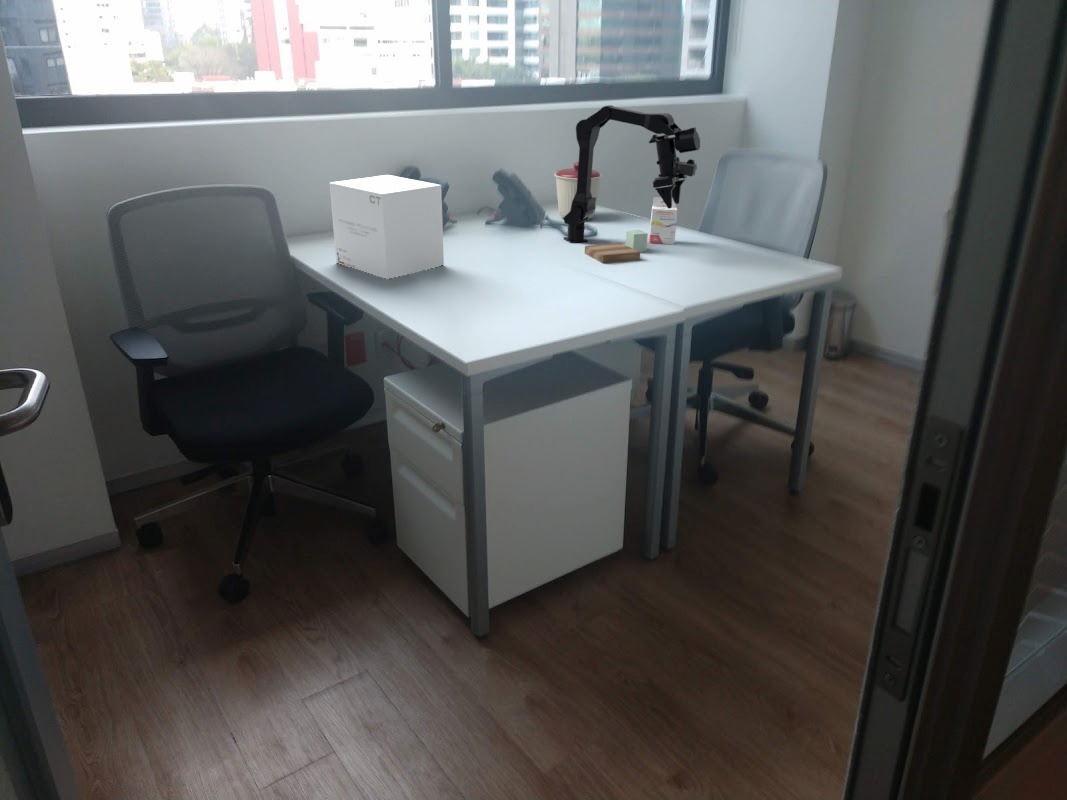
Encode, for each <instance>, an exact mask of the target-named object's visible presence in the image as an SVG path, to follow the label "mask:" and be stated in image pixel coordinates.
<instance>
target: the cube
mask: <svg viewBox="0 0 1067 800" xmlns="http://www.w3.org/2000/svg"><path fill="white" fill-rule="evenodd" d="M442 192H443V191H442V184H437V183H433V182H427V181H423V180H417V179H411V178H406V177H401V176H396V175H391V174H383V175H376V176H371V177H370V176H369V177H363V178H355V179H354V178H353V179H348V180H339V181H330V182H329V194H330V195H329V196H330V206H331V216H332V218H331V219H332V229H333V230H332V231H333V241H334V251H335V263H336V264H337V263H339V264H338V265H340V264H342V265H341V266H343V265H345V266H344V267H347V266H348V267H347V268H350V267H352V268H351V269H353V268H355V269H354V270H356V269H358V270H357V271H359V270H361V271H360V272H362V271H364V272H363V273H365V272H367V273H366V274H368V273H370V274H369V275H371V274H373V275H372V276H375V275H376V277H378V276H379V277H378V278H381V277H382V278H381V279H384V278H386V279H385V280H387V279H388V280H390V279H389V278H392V279H395V278H394V277H396V278H399V277H398V276H400V277H404V276H408V275H407V274H409V275H412V274H411V273H413V274H416V273H415V272H417V273H420V272H419V271H421V272H423V271H422V270H425V271H427V270H426V269H429V268H433V267H438V266H441V265H444V266H445V261H444V260H445V259H444V255H445V254H444V231H443V230H444V229H443V226H444V225H443V200H442V198H443V197H442V195H443V194H442ZM438 268H439V267H438ZM433 269H434V268H433ZM429 270H430V269H429ZM403 275H404V276H403Z"/></svg>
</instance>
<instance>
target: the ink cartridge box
mask: <svg viewBox="0 0 1067 800" xmlns="http://www.w3.org/2000/svg"><path fill="white" fill-rule="evenodd" d="M677 205H678V204H675V202H674V200H673V197H672V208H668V207H667V206H666V204H665V202H664V201H663V199H662V198H661V197H653V198H652V207H651V214H650V224H649V225H650V226H649V227H650V228H649V234H648V235H649V237H648V238H649V239H648V240H649V244H660V243H662V244H664V245H665V244H666V245H675V241H676V232H677V231H676V229H677V220H678V207H677Z"/></svg>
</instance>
